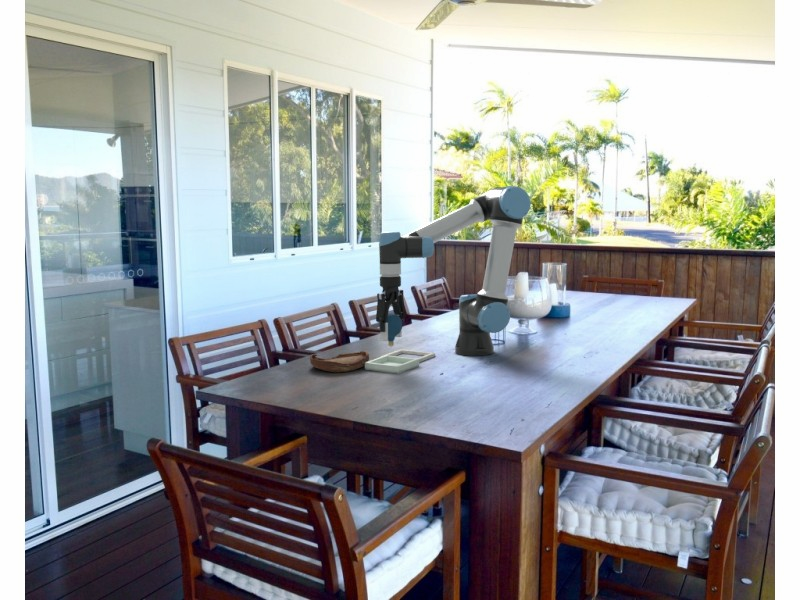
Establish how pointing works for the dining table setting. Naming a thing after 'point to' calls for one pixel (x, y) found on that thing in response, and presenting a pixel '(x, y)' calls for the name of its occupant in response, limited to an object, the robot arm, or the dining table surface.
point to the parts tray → (392, 364)
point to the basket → (341, 362)
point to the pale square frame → (425, 354)
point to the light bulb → (393, 327)
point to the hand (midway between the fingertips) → (391, 338)
